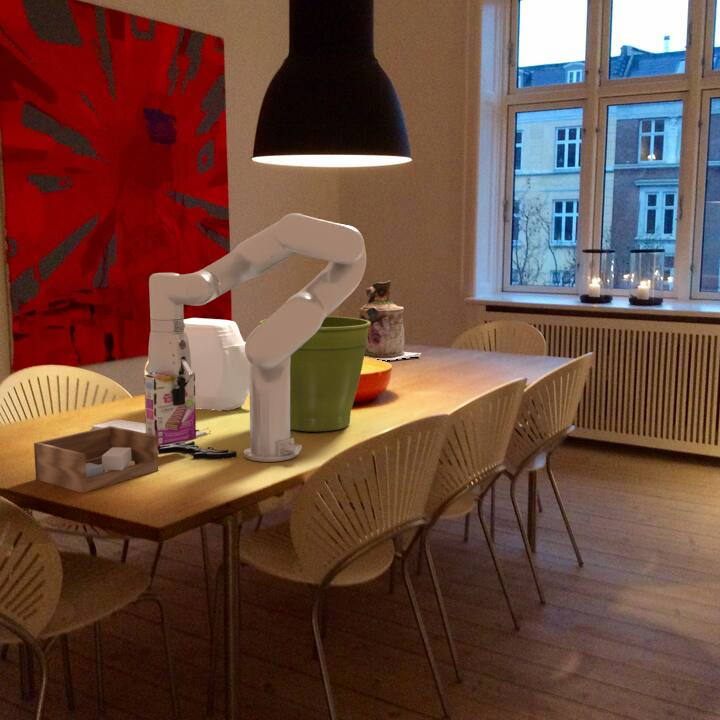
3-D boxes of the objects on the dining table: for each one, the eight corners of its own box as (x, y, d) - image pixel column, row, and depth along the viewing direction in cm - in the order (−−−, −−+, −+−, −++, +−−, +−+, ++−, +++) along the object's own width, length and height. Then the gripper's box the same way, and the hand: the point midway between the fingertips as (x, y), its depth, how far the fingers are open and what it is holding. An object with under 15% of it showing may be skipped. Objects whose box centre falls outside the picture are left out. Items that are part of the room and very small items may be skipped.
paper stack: (202, 396, 274) (201, 316, 270) (271, 406, 260) (270, 321, 256) (155, 408, 256) (152, 322, 252) (225, 419, 242) (224, 328, 238)
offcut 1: (103, 484, 181) (102, 466, 181) (86, 489, 178) (85, 470, 177) (90, 480, 184) (89, 462, 183) (73, 485, 180) (72, 467, 180)
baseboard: (123, 422, 240) (92, 431, 230) (123, 412, 240) (91, 420, 229) (212, 435, 226) (182, 445, 216) (212, 424, 226) (182, 434, 215)
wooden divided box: (158, 470, 191) (157, 435, 190) (82, 493, 175) (81, 454, 174) (111, 459, 200) (110, 425, 199) (35, 479, 184) (33, 443, 183)
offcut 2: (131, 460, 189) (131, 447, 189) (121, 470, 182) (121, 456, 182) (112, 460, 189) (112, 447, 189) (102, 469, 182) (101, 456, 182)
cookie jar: (387, 351, 375) (388, 277, 370) (423, 358, 356) (424, 281, 351) (340, 355, 361) (340, 279, 356) (374, 363, 342) (375, 283, 337)
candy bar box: (156, 447, 198) (153, 377, 195) (145, 443, 201) (142, 374, 199) (197, 439, 205) (195, 371, 203) (186, 435, 209) (184, 369, 207)
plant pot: (322, 444, 215) (322, 330, 211) (238, 427, 233) (236, 321, 228) (391, 423, 238) (392, 320, 234) (309, 409, 256) (309, 313, 252)
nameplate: (245, 447, 207) (222, 457, 198) (245, 454, 207) (222, 464, 198) (153, 435, 218) (127, 444, 209) (153, 441, 218) (127, 450, 209)
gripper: (205, 327, 197) (207, 404, 200) (154, 322, 207) (157, 396, 210) (181, 330, 191) (183, 410, 194) (130, 325, 201) (133, 401, 204)
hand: (170, 402), depth 202 cm, fingers closed on candy bar box, 5 cm apart
